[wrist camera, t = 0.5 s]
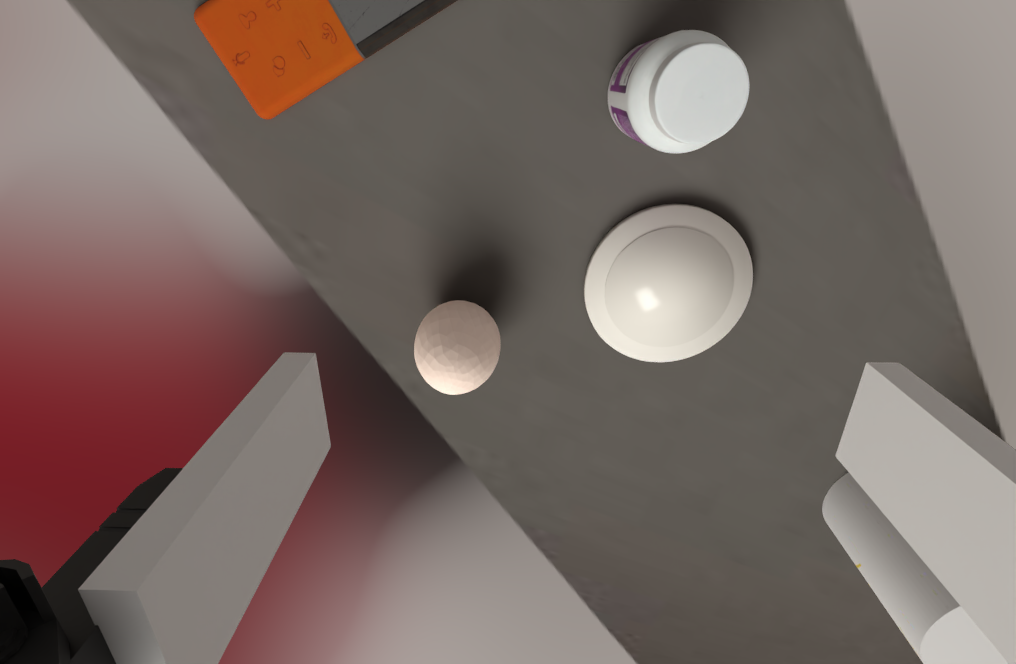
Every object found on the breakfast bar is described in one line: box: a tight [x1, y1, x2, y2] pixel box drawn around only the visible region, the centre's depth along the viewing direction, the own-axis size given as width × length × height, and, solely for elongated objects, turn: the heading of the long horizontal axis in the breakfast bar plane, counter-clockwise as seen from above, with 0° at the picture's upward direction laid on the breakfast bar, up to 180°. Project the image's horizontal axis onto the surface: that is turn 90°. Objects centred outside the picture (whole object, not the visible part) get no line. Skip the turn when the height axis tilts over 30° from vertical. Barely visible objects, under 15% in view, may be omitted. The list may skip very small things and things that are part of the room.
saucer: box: [584, 204, 753, 362], centre depth 36 cm, size 11×11×1 cm
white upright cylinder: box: [822, 472, 1009, 664], centre depth 38 cm, size 8×8×12 cm
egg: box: [414, 300, 501, 395], centre depth 34 cm, size 6×6×8 cm
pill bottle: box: [608, 30, 749, 153], centre depth 27 cm, size 5×5×10 cm
